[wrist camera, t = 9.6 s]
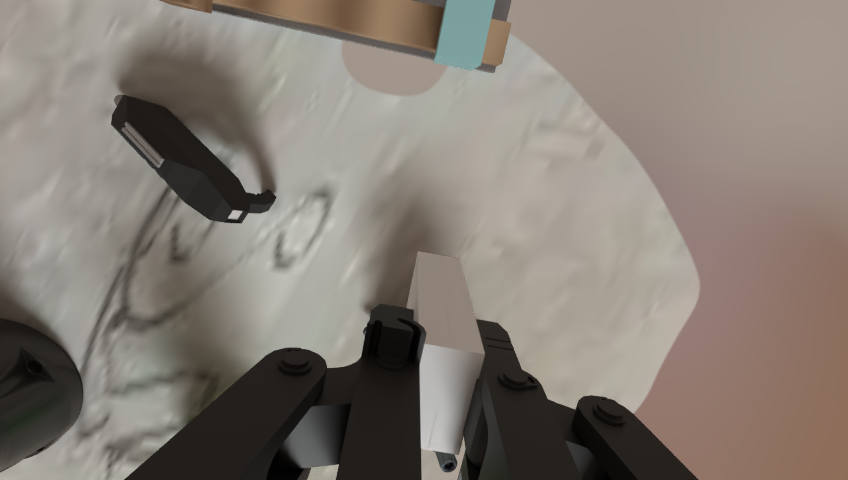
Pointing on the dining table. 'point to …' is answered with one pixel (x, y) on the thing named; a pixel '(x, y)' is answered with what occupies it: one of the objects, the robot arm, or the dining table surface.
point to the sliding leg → (463, 33)
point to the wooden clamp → (366, 20)
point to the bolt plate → (498, 14)
